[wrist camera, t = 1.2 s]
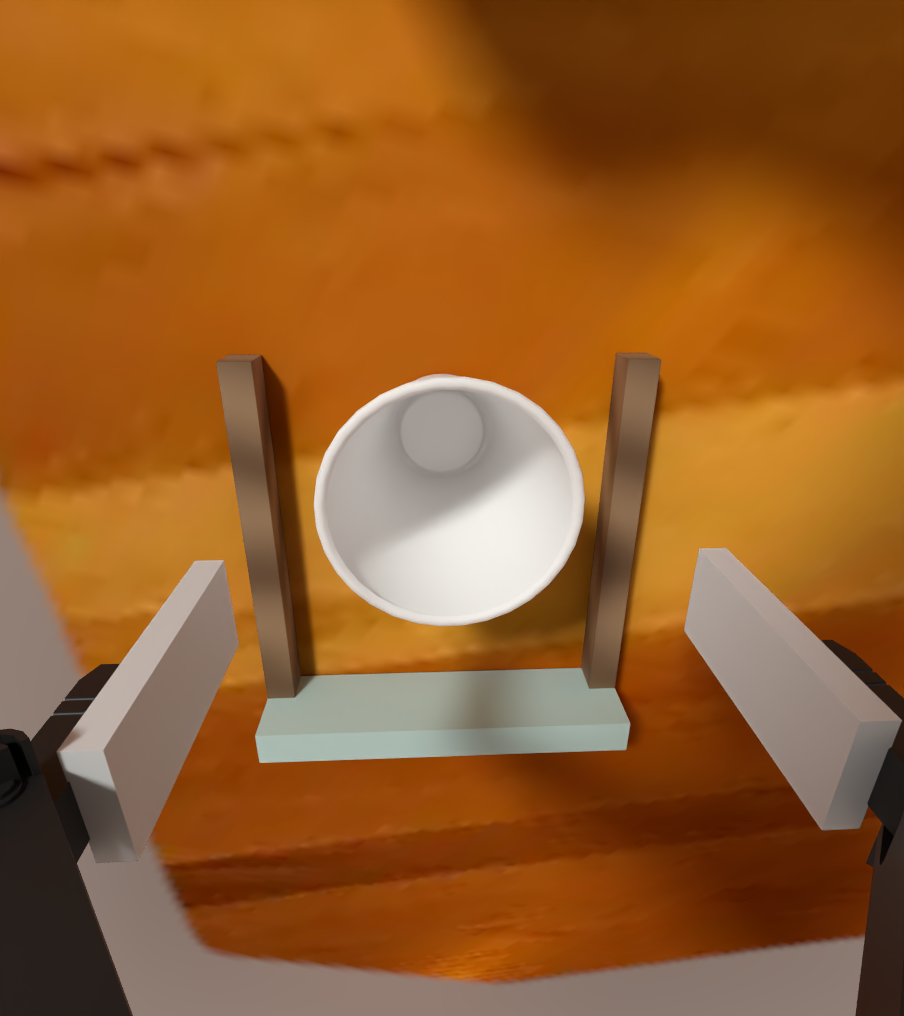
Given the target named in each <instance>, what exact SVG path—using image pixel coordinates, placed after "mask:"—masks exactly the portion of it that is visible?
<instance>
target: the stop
mask: <svg viewBox="0 0 904 1016" xmlns="http://www.w3.org/2000/svg"><path fill="white" fill-rule="evenodd" d="M629 729H630V722H629V719H628V717H627V715H626V712H625V710H624V708H623V706H622V703H621V701H620V699H619V697H618V694H617V692H616V690H615V688H600V689H589V687H588V685H587V682H586V679H585V677H584V674H583V671H582V669H581V668H561V669H526V670H492V671H457V672H423V673H388V674H353V675H319V676H301V678H300V681H299V685H298V688H297V692H296V695H295V698H272V699H268V700H267V703H266V706H265V709H264V712H263V715H262V718H261V720H260V723H259V726H258V729H257V732H256V735H255V738H256V744H257V750H258V755H259V761H260V763H268V762H296V761H325V760H353V759H381V758H410V757H438V756H466V755H495V754H523V753H551V752H580V751H608V750H626V748H627V742H628V735H629Z"/></svg>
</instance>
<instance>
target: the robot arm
mask: <svg viewBox="0 0 904 1016" xmlns="http://www.w3.org/2000/svg"><path fill="white" fill-rule="evenodd" d="M684 631H685V633H686V634H687V636H688V637H689V638H690V640H691V641H692V643H693V644H694V646H695V647H696V649H697V650H698V651H699V653H700V654H701V656H702V657H703V659H704V660H705V662H706V663H707V665H708V666H709V667H710V669H711V670H712V672H713V673H714V675H715V676H716V678H717V679H718V681H719V682H720V683H721V685H722V686H723V688H724V689H725V691H726V692H727V694H728V695H729V696H730V698H731V699H732V701H733V702H734V704H735V705H736V707H737V708H738V710H739V711H740V712H741V714H742V715H743V717H744V718H745V720H746V721H747V723H748V724H749V726H750V727H751V728H752V730H753V731H754V733H755V734H756V736H757V737H758V739H759V740H760V742H761V743H762V744H763V746H764V747H765V749H766V750H767V752H768V753H769V755H770V756H771V757H772V759H773V760H774V762H775V763H776V765H777V766H778V768H779V769H780V771H781V772H782V773H783V775H784V776H785V778H786V779H787V781H788V782H789V784H790V785H791V787H792V788H793V789H794V791H795V792H796V794H797V795H798V797H799V798H800V800H801V801H802V802H803V804H804V805H805V807H806V808H807V810H808V811H809V813H810V814H811V816H812V817H813V818H814V820H815V821H816V823H817V824H818V826H819V827H820V829H821V830H839V829H860V826H861V823H862V821H863V818H864V816H865V813H866V811H867V808H868V806H869V807H870V808H871V809H872V811H873V812H874V813H875V814H876V816H877V817H878V818H879V819H880V821H881V822H882V823H883V824H882V826H881V828H880V831H879V833H878V836H877V838H876V841H875V843H874V845H873V848H872V850H871V853H870V855H869V858H868V860H867V862H866V863H867V864H869V865H871V866H874V867H873V876H872V884H871V892H870V900H869V909H868V917H867V925H866V933H865V942H864V950H863V958H862V967H861V975H860V983H859V991H858V1000H857V1008H856V1016H904V698H903V697H901V696H900V695H899V694H898V693H897V692H896V691H895V690H894V689H893V688H892V687H891V686H890V685H888V686H887V685H886V682H885V681H884V680H883V679H882V678H881V677H880V676H879V675H878V674H877V673H876V672H872V669H871V668H870V667H869V666H868V665H867V664H866V663H865V662H864V661H863V660H862V659H861V658H860V657H858V656H857V655H856V654H855V653H853V652H852V651H850V650H848V649H847V648H845V647H843V646H841V645H840V644H838V643H836V642H834V641H833V640H819V639H818V638H817V637H816V636H815V635H814V634H813V633H812V632H811V631H810V630H809V629H808V628H807V627H806V626H805V625H804V624H803V623H802V622H801V621H800V620H799V619H798V618H797V617H796V616H795V615H794V614H793V613H792V612H791V611H790V610H789V609H788V608H787V607H786V606H785V605H784V604H783V603H782V602H781V601H780V600H779V599H778V598H777V597H776V596H775V595H774V594H773V593H772V592H771V591H769V590H768V589H767V588H766V587H765V586H764V585H763V584H762V583H761V582H760V581H759V580H758V579H757V578H756V577H755V576H754V575H753V574H752V573H751V572H750V571H749V570H748V569H747V568H746V567H745V566H744V565H743V564H742V563H741V562H740V561H739V560H738V559H737V558H736V557H735V556H734V555H733V554H732V553H731V552H730V551H729V550H728V549H727V548H706V549H699V553H698V559H697V564H696V569H695V575H694V580H693V586H692V591H691V596H690V602H689V607H688V612H687V618H686V623H685V628H684ZM238 645H239V642H238V636H237V631H236V625H235V620H234V614H233V608H232V603H231V597H230V591H229V586H228V580H227V575H226V569H225V563H224V560H210V561H195V562H194V563H193V565H192V566H191V567H190V569H189V570H188V571H187V573H186V574H185V576H184V577H183V578H182V580H181V581H180V582H179V584H178V585H177V587H176V588H175V589H174V591H173V592H172V593H171V595H170V596H169V598H168V599H167V600H166V602H165V603H164V604H163V606H162V607H161V609H160V610H159V611H158V613H157V614H156V615H155V617H154V618H153V620H152V621H151V622H150V624H149V625H148V626H147V628H146V629H145V631H144V632H143V633H142V635H141V636H140V637H139V639H138V640H137V642H136V643H135V644H134V646H133V647H132V648H131V650H130V651H129V653H128V654H127V655H126V657H125V658H124V659H123V661H122V662H121V664H101V665H99V666H98V667H97V668H95V669H94V670H93V671H91V672H90V673H88V674H87V675H86V676H84V677H83V678H82V679H80V680H79V681H78V682H77V684H76V685H75V686H74V687H73V689H72V690H71V691H70V692H69V694H68V695H67V696H66V697H65V701H63V702H61V704H60V705H59V706H58V707H57V709H56V710H55V711H54V715H53V716H51V717H50V718H49V719H48V720H47V721H46V723H45V724H44V725H43V727H42V728H41V729H40V730H39V731H38V733H37V734H36V735H35V736H34V738H33V739H32V741H30V739H29V737H27V735H26V734H25V733H24V732H23V731H19V730H14V729H3V730H0V1016H133V1015H132V1012H131V1009H130V1007H129V1004H128V1001H127V998H126V996H125V993H124V990H123V987H122V985H121V982H120V979H119V977H118V974H117V971H116V968H115V966H114V963H113V961H112V958H111V955H110V952H109V949H108V947H107V944H106V941H105V939H104V936H103V933H102V931H101V928H100V925H99V922H98V920H97V917H96V914H95V911H94V909H93V906H92V903H91V901H90V898H89V895H88V892H87V890H86V887H85V884H84V882H83V879H82V876H81V873H80V871H79V868H78V865H77V862H78V860H79V858H80V856H81V855H82V853H83V851H84V849H85V847H86V846H87V844H88V842H89V844H90V847H91V850H92V852H93V855H94V858H95V861H96V863H109V862H131V861H139V859H140V857H141V854H142V852H143V850H144V848H145V846H146V844H147V841H148V839H149V837H150V835H151V833H152V831H153V828H154V826H155V824H156V822H157V820H158V818H159V815H160V813H161V811H162V809H163V807H164V805H165V803H166V800H167V798H168V796H169V794H170V792H171V790H172V787H173V785H174V783H175V781H176V779H177V777H178V774H179V772H180V770H181V768H182V766H183V764H184V761H185V759H186V757H187V755H188V753H189V751H190V749H191V746H192V744H193V742H194V740H195V738H196V736H197V733H198V731H199V729H200V727H201V725H202V723H203V720H204V718H205V716H206V714H207V712H208V710H209V707H210V705H211V703H212V701H213V699H214V697H215V694H216V692H217V690H218V688H219V686H220V684H221V682H222V679H223V677H224V675H225V673H226V671H227V669H228V666H229V664H230V662H231V660H232V658H233V656H234V653H235V651H236V649H237V647H238Z"/></svg>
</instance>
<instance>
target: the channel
mask: <svg viewBox="0 0 904 1016" xmlns="http://www.w3.org/2000/svg"><path fill="white" fill-rule="evenodd" d="M216 364H217V371H218V377H219V384H220V390H221V397H222V403H223V410H224V416H225V423H226V429H227V436H228V442H229V449H230V455H231V462H232V468H233V475H234V481H235V488H236V494H237V501H238V507H239V514H240V520H241V527H242V533H243V540H244V546H245V553H246V559H247V566H248V572H249V579H250V585H251V592H252V598H253V605H254V611H255V618H256V624H257V631H258V637H259V644H260V650H261V657H262V663H263V670H264V676H265V683H266V689H267V696H268V699H272V698H295V695H296V692H297V688H298V685H299V681H300V678H301V672H300V664H299V656H298V648H297V640H296V632H295V624H294V615H293V607H292V599H291V591H290V583H289V575H288V567H287V559H286V551H285V542H284V534H283V526H282V518H281V510H280V502H279V494H278V486H277V478H276V469H275V461H274V453H273V445H272V437H271V429H270V421H269V413H268V405H267V396H266V388H265V380H264V372H263V364H262V356H261V355H228V356H226V357H224V358H222V359H221V360H219V361H217V362H216ZM660 365H661V359H659V358H657V357H654V356H652V355H650V354H648V353H616V359H615V368H614V377H613V386H612V395H611V404H610V413H609V422H608V431H607V440H606V449H605V458H604V467H603V476H602V485H601V494H600V503H599V512H598V521H597V530H596V539H595V548H594V557H593V566H592V575H591V584H590V593H589V602H588V611H587V620H586V629H585V638H584V647H583V656H582V665H581V669H582V671H583V674H584V677H585V679H586V682H587V685H588V687H589V689H600V688H615V682H616V675H617V668H618V661H619V654H620V647H621V640H622V633H623V626H624V619H625V612H626V605H627V598H628V591H629V583H630V576H631V569H632V562H633V555H634V548H635V541H636V534H637V527H638V520H639V513H640V506H641V499H642V492H643V485H644V478H645V470H646V463H647V456H648V449H649V442H650V435H651V428H652V421H653V414H654V407H655V400H656V393H657V386H658V379H659V372H660Z"/></svg>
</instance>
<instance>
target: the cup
mask: <svg viewBox="0 0 904 1016" xmlns="http://www.w3.org/2000/svg"><path fill="white" fill-rule="evenodd" d="M584 504H585V493H584V485H583V476H582V471H581V469H580V466H579V463H578V460H577V457H576V454H575V451H574V449H573V447H572V445H571V444H570V442H569V441H568V439H567V437H566V436H565V434H564V432H563V431H562V429H561V428H560V426H559V425H558V424H557V423H556V422H555V421H554V420H553V419H552V418H551V417H550V416H549V415H548V414H547V413H546V412H545V411H544V410H543V409H542V408H541V407H540V406H538V405H537V404H535V403H534V402H532V401H531V400H529V399H528V398H526V397H525V396H523V395H522V394H520V393H519V392H516V391H514V390H511V389H509V388H507V387H504V386H502V385H499V384H497V383H494V382H491V381H485V380H480V379H475V378H469V377H460V376H455V375H450V374H433V375H429V376H424V377H421V378H419V379H417V380H414V381H412V382H410V383H406V384H404V385H401V386H399V387H397V388H395V389H392V390H390V391H388V392H385V393H383V394H381V395H379V396H378V397H376V398H375V399H374V400H372V401H371V402H369V403H368V404H366V405H365V406H364V407H362V408H361V409H359V410H358V411H357V412H356V413H355V414H354V415H353V416H352V417H351V418H350V419H349V420H348V421H347V422H346V423H345V425H344V426H343V427H342V428H341V429H340V430H339V431H338V433H337V434H336V436H335V438H334V439H333V441H332V443H331V444H330V446H329V448H328V449H327V451H326V453H325V455H324V458H323V461H322V464H321V467H320V469H319V472H318V475H317V479H316V488H315V497H314V511H315V520H316V528H317V531H318V534H319V538H320V541H321V544H322V547H323V550H324V552H325V554H326V555H327V557H328V559H329V561H330V562H331V564H332V566H333V567H334V569H335V571H336V572H337V574H338V575H339V576H340V577H341V578H342V579H343V580H344V581H345V583H346V584H347V585H348V586H349V587H350V588H351V589H352V590H353V591H354V592H355V593H357V594H358V595H359V596H360V597H362V598H363V599H364V600H366V601H367V602H368V603H369V604H371V605H373V606H375V607H376V608H378V609H380V610H382V611H384V612H386V613H388V614H390V615H392V616H395V617H398V618H401V619H404V620H408V621H411V622H414V623H420V624H427V625H435V626H460V625H468V624H473V623H478V622H483V621H488V620H490V619H493V618H496V617H498V616H501V615H504V614H506V613H509V612H511V611H513V610H514V609H516V608H518V607H520V606H521V605H523V604H525V603H526V602H528V601H530V600H531V599H532V598H534V597H535V596H536V595H537V594H538V593H540V592H541V591H542V590H543V589H544V588H545V587H547V586H548V585H549V584H550V583H551V581H552V580H553V579H554V578H555V577H556V575H557V574H558V573H559V572H560V570H561V569H562V568H563V567H564V565H565V564H566V562H567V560H568V558H569V556H570V554H571V552H572V551H573V549H574V547H575V545H576V542H577V539H578V536H579V532H580V529H581V526H582V523H583V514H584Z"/></svg>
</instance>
